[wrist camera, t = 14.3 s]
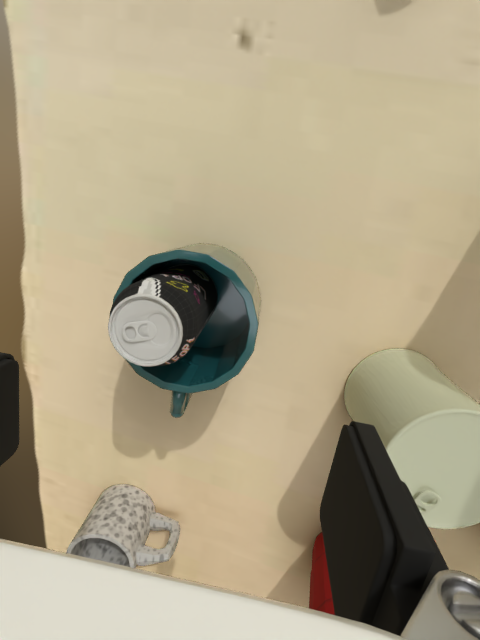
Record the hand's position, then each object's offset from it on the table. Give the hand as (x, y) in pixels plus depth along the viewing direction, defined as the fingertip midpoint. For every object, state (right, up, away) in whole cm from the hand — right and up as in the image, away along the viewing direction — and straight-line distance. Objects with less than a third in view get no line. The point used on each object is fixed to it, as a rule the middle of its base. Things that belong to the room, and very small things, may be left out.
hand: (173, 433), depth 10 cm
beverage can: (-3, +6, +23) cm, 24 cm away
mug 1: (-9, -18, +31) cm, 37 cm away
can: (+17, -4, +25) cm, 30 cm away
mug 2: (-2, +4, +24) cm, 24 cm away
